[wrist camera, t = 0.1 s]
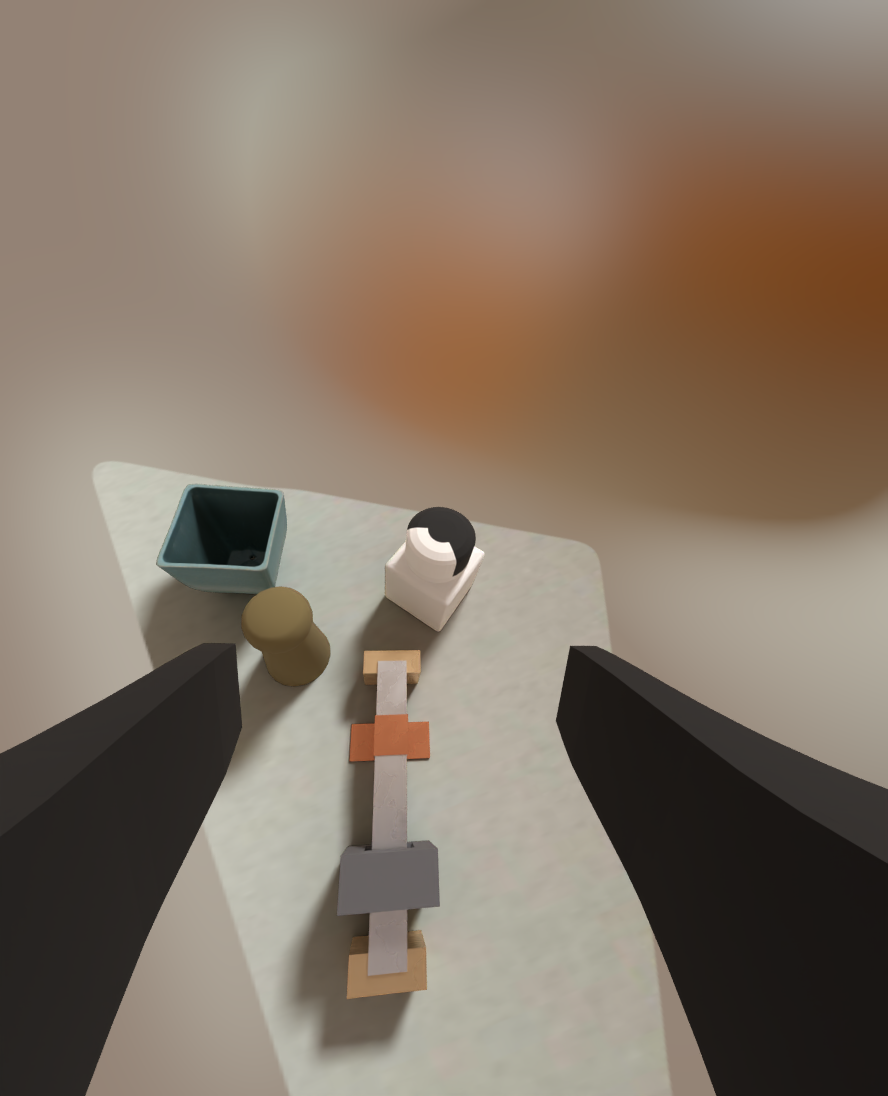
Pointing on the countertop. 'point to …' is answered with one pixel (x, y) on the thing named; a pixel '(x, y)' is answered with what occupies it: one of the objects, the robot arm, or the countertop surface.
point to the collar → (388, 878)
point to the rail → (389, 824)
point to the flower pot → (226, 539)
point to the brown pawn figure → (286, 635)
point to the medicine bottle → (433, 566)
